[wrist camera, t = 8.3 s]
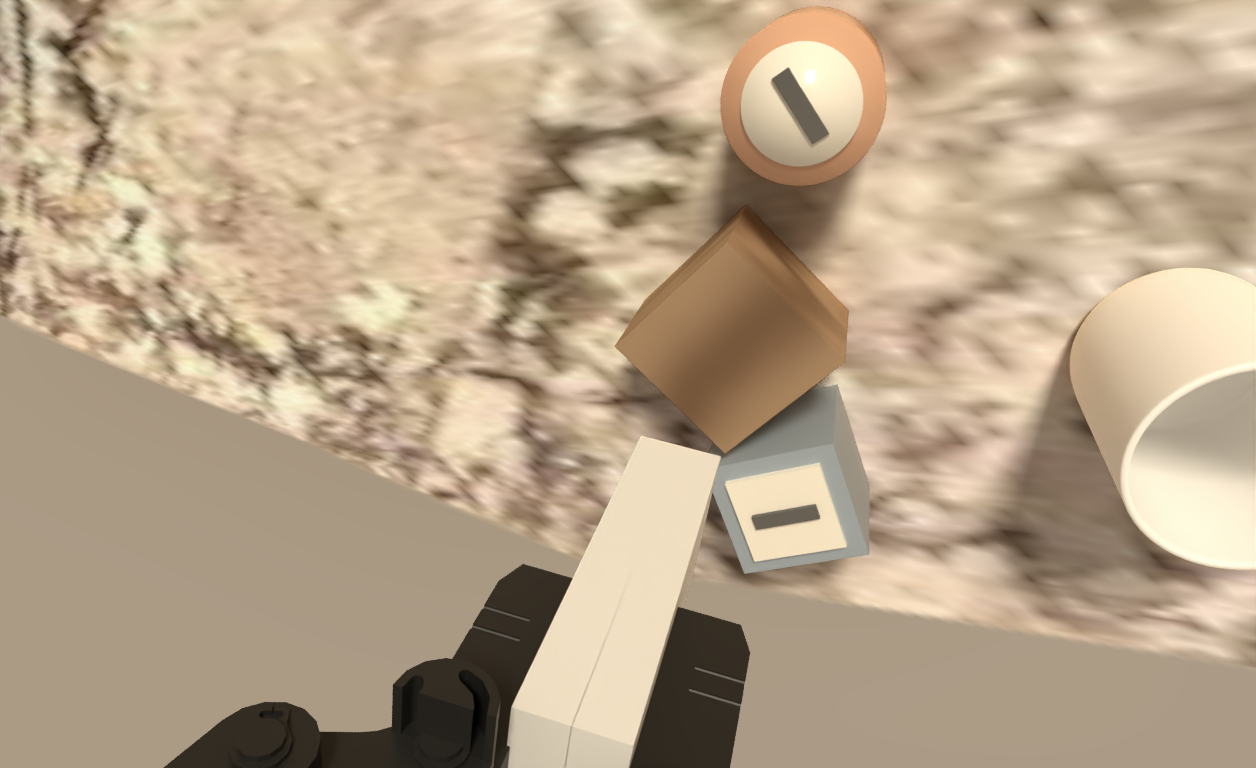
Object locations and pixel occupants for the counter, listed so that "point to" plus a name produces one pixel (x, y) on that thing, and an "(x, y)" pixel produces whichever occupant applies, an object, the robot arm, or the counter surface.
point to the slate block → (796, 487)
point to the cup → (1177, 408)
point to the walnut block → (737, 331)
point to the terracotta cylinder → (805, 97)
